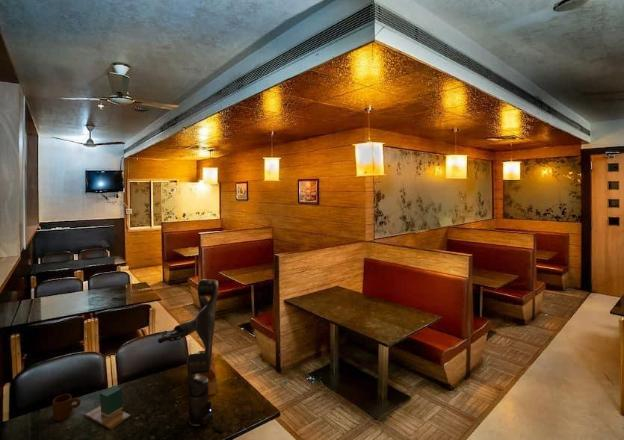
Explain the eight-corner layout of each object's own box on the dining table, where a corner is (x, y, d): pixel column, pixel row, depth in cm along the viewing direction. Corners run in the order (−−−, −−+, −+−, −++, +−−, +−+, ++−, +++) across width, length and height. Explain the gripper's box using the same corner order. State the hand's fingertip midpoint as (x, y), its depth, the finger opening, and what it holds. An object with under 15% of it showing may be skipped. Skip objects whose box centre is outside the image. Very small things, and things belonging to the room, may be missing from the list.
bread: (193, 374, 208) (192, 350, 206) (214, 370, 212) (214, 347, 210) (192, 398, 184) (191, 371, 183) (217, 394, 188) (216, 368, 187)
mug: (85, 410, 174) (84, 392, 173) (77, 420, 166) (75, 402, 165) (59, 411, 172) (58, 394, 171) (49, 422, 165) (48, 403, 164)
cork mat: (130, 416, 169) (130, 414, 169) (110, 429, 160) (110, 427, 160) (105, 404, 178) (105, 402, 178) (85, 415, 170) (85, 414, 169)
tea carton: (122, 388, 172) (107, 396, 165) (123, 409, 173) (108, 418, 167) (114, 385, 175) (99, 393, 168) (115, 405, 176) (100, 414, 169)
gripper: (176, 320, 202) (150, 331, 187) (193, 325, 196) (167, 337, 181) (176, 333, 203) (150, 345, 187) (193, 338, 197) (167, 351, 181)
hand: (159, 341), depth 184 cm, fingers closed
